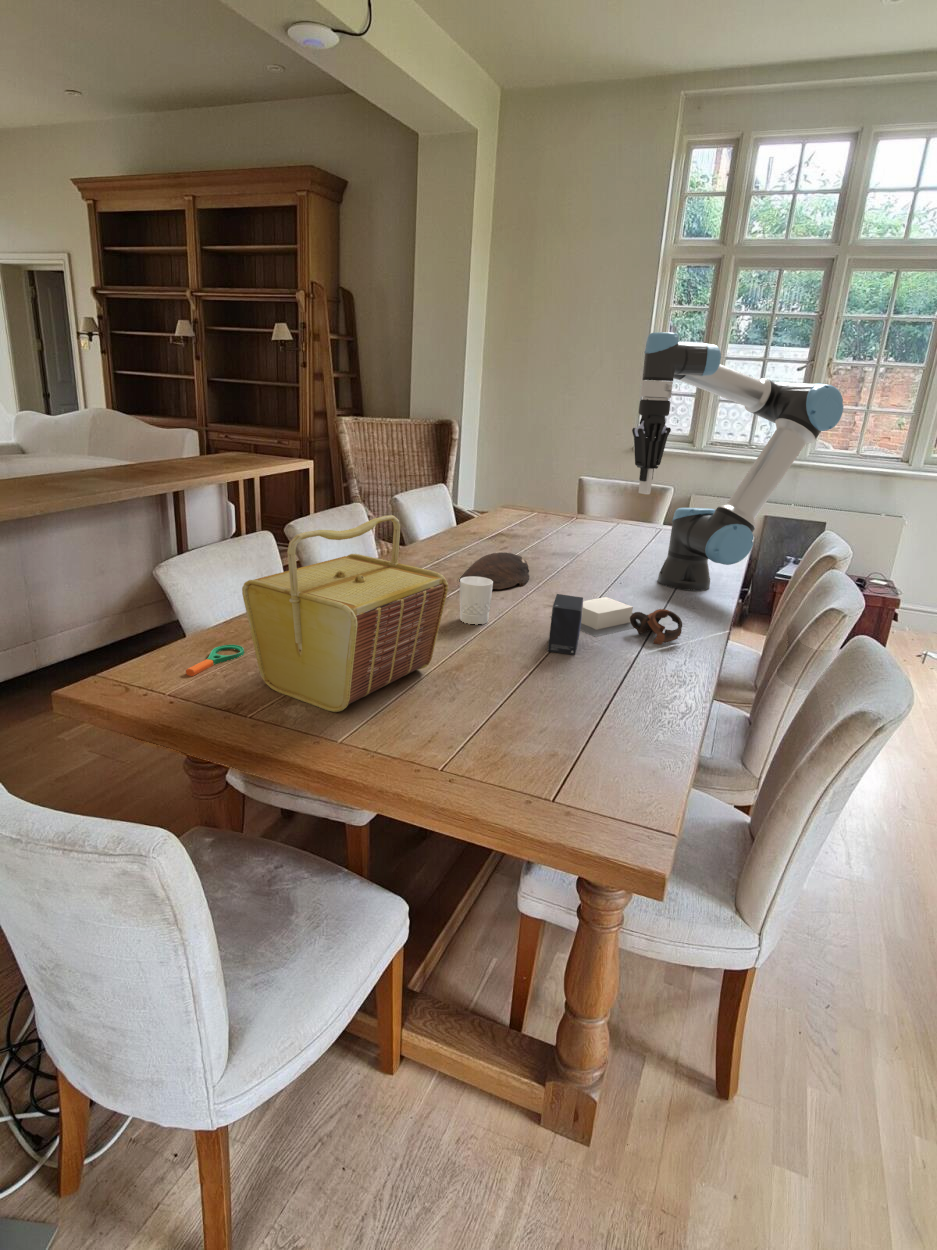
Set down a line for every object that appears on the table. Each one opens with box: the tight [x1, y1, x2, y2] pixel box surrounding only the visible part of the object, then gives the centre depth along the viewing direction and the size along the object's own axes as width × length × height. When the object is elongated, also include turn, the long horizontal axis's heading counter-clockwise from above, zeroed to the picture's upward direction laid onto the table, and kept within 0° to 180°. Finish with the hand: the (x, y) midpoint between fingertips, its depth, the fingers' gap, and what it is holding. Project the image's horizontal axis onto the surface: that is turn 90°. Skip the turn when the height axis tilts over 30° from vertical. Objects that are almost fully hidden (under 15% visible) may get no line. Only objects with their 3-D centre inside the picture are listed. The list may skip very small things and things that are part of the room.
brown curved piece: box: [630, 608, 683, 646], centre depth 165 cm, size 12×10×8 cm
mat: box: [549, 612, 640, 638], centre depth 176 cm, size 22×16×1 cm
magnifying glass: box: [185, 644, 245, 677], centre depth 139 cm, size 15×6×2 cm, turn 163°
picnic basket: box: [241, 514, 449, 713], centre depth 130 cm, size 29×26×30 cm
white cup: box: [459, 576, 493, 626], centre depth 170 cm, size 8×8×10 cm
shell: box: [458, 552, 530, 590], centre depth 209 cm, size 34×20×8 cm, turn 162°
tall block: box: [581, 596, 634, 630], centre depth 175 cm, size 4×9×12 cm
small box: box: [546, 593, 584, 656], centre depth 157 cm, size 11×6×10 cm, turn 168°
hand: (644, 493), depth 186 cm, fingers closed
